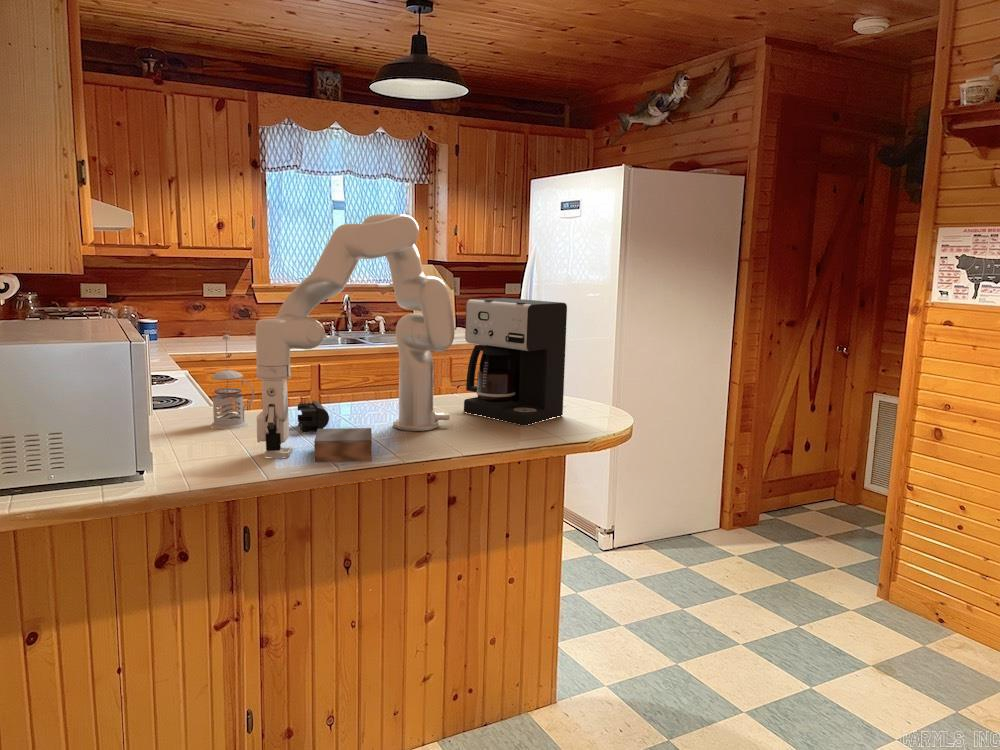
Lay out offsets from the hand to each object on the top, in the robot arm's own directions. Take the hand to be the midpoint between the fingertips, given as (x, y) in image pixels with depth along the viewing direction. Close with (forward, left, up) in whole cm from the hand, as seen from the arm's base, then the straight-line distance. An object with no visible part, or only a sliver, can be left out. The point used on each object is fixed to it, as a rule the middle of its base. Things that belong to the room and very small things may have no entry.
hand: (275, 445), depth 178 cm
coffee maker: (-64, -42, -2) cm, 77 cm away
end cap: (-7, -27, -3) cm, 28 cm away
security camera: (0, 0, -2) cm, 2 cm away
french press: (+15, -32, -2) cm, 35 cm away
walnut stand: (-16, +1, -2) cm, 16 cm away
